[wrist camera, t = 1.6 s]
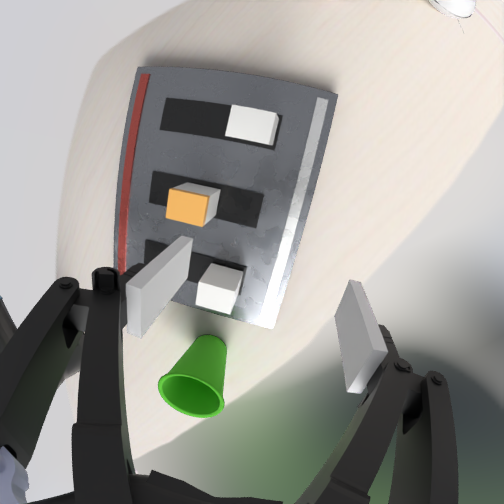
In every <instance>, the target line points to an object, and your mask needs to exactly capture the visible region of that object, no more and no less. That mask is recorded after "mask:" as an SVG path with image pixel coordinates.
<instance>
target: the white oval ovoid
mask: <svg viewBox="0 0 504 504" xmlns="http://www.w3.org/2000/svg"><path fill="white" fill-rule="evenodd" d="M429 2H430V3H431V4H432V5H433V6H434V7H435V8H436V9H437V10H438V11H439V12H441V13H442V14H444V15H446V16H448V17H452V18H456V19H463V18H468V17H470V16H471V15H472V13H473V12H474V10H475V6H476V0H429ZM458 22H459V21H458ZM459 24H460V23H459ZM460 26H461V25H460ZM461 28H462V27H461ZM462 31H463V30H462ZM463 33H464V32H463Z"/></svg>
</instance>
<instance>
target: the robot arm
mask: <svg viewBox="0 0 504 504" xmlns="http://www.w3.org/2000/svg"><path fill="white" fill-rule="evenodd" d="M192 242H193V238H189V237H185V236H180V237H179V238H178V239H177V240H176V241H174V242H173V243H172V244H171V245H170V246H168V247H167V248H166V249H165V250H164V251H163V252H161V253H160V254H159V255H158V256H157V257H156V258H154V259H153V260H152V261H151V262H150V263H149V264H148V265H146V264H143V263H138V264H136V265H133V266H131V267H130V268H129V269H128V270H127V271H125V272H124V273H123V274H122V275H121V276H120V272H119V271H118V270H117V269H114V268H111V267H101V268H97V269H95V270H94V271H93V272H92V286H93V290H87V289H81V288H79V283H78V281H77V280H76V279H75V278H72V277H62V278H60V279H57V280H56V281H55V282H54V283H53V284H52V285H51V287H50V288H49V289H48V290H47V291H46V293H45V294H44V295H43V296H42V298H41V299H40V300H39V302H38V303H37V304H36V305H35V306H34V308H33V309H32V310H31V312H30V313H29V314H28V316H27V317H26V319H25V320H24V321H23V322H22V324H21V325H20V327H19V328H18V329H17V328H16V326H15V324H14V322H13V320H12V319H11V316H10V315H9V313H8V311H7V309H6V307H5V305H4V302H3V300H2V297H1V296H0V504H283V502H281V501H273V500H265V499H259V498H252V497H241V498H220V497H213V496H211V495H209V494H207V493H205V492H203V491H201V490H199V489H197V488H195V487H194V486H192V485H190V484H188V483H186V482H184V481H182V480H179V479H176V478H173V477H170V476H167V475H164V474H161V473H159V472H156V471H154V470H152V471H151V473H150V475H139V474H136V473H135V469H134V465H133V460H132V455H131V448H130V441H129V433H128V425H127V415H126V404H125V391H124V373H123V332H122V329H123V328H124V326H125V325H126V324H127V333H129V334H131V335H134V336H136V337H139V338H142V337H143V335H144V334H145V333H146V331H147V330H148V329H149V327H150V326H151V325H152V323H153V322H154V321H155V319H156V318H157V317H158V315H159V314H160V313H161V311H162V310H163V309H164V307H165V306H166V305H167V304H168V302H169V301H170V300H171V298H172V297H173V296H174V294H175V293H176V292H177V291H178V289H179V288H180V287H181V285H182V284H183V283H184V282H185V280H186V279H187V278H188V271H189V263H190V256H191V249H192ZM335 321H336V326H337V332H338V338H339V343H340V349H341V356H342V362H343V368H344V375H345V382H346V389H347V392H353V393H362V391H363V390H364V388H365V387H366V386H367V389H368V393H367V394H366V396H365V397H364V398H363V400H362V401H361V402H360V404H359V405H358V406H357V407H358V410H357V412H356V414H355V415H354V417H353V419H352V421H351V423H350V424H349V426H348V428H347V429H346V431H345V433H344V435H343V436H342V438H341V439H340V441H339V443H338V444H337V446H336V447H335V449H334V450H333V452H332V453H331V455H330V457H329V458H328V459H327V461H326V462H325V464H324V465H323V467H322V468H321V470H320V471H319V473H318V474H317V475H316V477H315V478H314V480H313V481H312V482H311V484H310V485H309V487H308V488H307V489H306V490H305V492H304V493H303V494H302V495H301V497H300V498H299V499H298V500H297V501H296V502H295V503H294V504H369V502H370V496H368V495H367V493H368V491H369V488H370V487H371V485H372V483H373V481H374V478H375V476H376V474H377V472H378V470H379V468H380V466H381V463H382V461H383V458H384V456H385V454H386V452H387V449H388V447H389V444H390V442H391V439H392V436H393V434H394V431H395V428H396V426H397V440H396V452H395V462H394V470H393V478H392V485H391V491H390V497H389V503H388V504H458V460H457V446H456V436H455V427H454V420H453V412H452V406H451V400H450V394H449V389H448V384H447V381H446V379H445V378H444V376H443V375H442V374H440V373H438V372H436V371H429V372H428V373H427V374H426V375H425V377H422V376H420V375H417V374H414V373H413V369H412V367H411V365H410V364H409V363H408V362H407V361H405V360H404V359H401V358H399V355H398V352H397V350H396V347H395V345H394V342H393V340H392V337H391V335H390V332H389V331H388V330H387V329H386V327H385V326H384V325H378V323H377V321H376V318H375V316H374V313H373V311H372V308H371V306H370V304H369V301H368V298H367V296H366V294H365V291H364V289H363V286H362V284H361V282H358V281H354V280H349V282H348V285H347V287H346V290H345V292H344V295H343V297H342V300H341V302H340V304H339V307H338V309H337V311H336V314H335ZM83 332H85V335H84V334H83ZM79 371H80V377H79V389H78V408H77V422H76V423H75V424H73V426H72V467H73V482H74V491H73V492H70V493H67V494H63V495H60V496H56V497H52V498H48V499H44V500H39V501H35V502H30V503H27V501H26V498H25V491H27V490H28V488H29V483H28V475H27V472H26V470H25V469H26V467H27V465H28V463H29V462H30V460H31V458H32V455H33V452H34V450H35V447H36V444H37V441H38V438H39V435H40V432H41V429H42V426H43V423H44V421H45V418H46V415H47V412H48V410H49V407H50V405H51V402H52V400H53V397H54V395H55V392H56V390H57V389H58V387H59V386H60V385H61V384H62V383H63V381H64V380H65V379H67V378H69V377H70V376H72V375H74V374H76V373H77V372H79ZM397 423H398V425H397Z"/></svg>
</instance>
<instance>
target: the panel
mask: <svg viewBox="0 0 504 504" xmlns="http://www.w3.org/2000/svg"><path fill="white" fill-rule="evenodd" d="M337 98H338V94H335V93H331V92H328V91H324V90H320V89H317V88H313V87H309V86H305V85H301V84H296V83H292V82H288V81H283V80H278V79H273V78H268V77H262V76H256V75H250V74H243V73H236V72H229V71H220V70H210V69H199V68H183V67H138V68H137V72H136V76H135V80H134V85H133V89H132V93H131V98H130V103H129V108H128V113H127V118H126V124H125V129H124V136H123V142H122V149H121V156H120V164H119V173H118V182H117V194H116V207H115V225H114V269H117V270H118V271H119V272H120V276H121V275H122V274H123V273H124V272H125V271H127V270H128V269H129V268H130V267H131V266H133V265H136V264H138V263H143V264H146V265H148V264H149V263H150V262H151V261H152V260H153V259H154V258H156V257H157V256H158V255H159V254H160V253H161V252H163V251H164V250H165V249H166V248H167V247H168V246H170V245H171V244H172V243H173V242H174V241H176V240H177V239H178V238H179V237H180V236H185V237H189V238H193V242H192V249H191V256H190V263H189V271H188V278H187V279H186V280H185V282H184V283H183V284H182V285H181V287H180V288H179V289H178V291H177V292H176V293H175V294H174V296H173V297H172V298H171V301H175V302H178V303H181V304H184V305H187V306H191V307H194V308H197V309H201V310H204V311H207V312H211V313H214V314H218V315H221V316H225V317H228V318H232V319H236V320H239V321H243V322H247V323H251V324H255V325H258V326H262V327H266V328H270V329H273V327H274V324H275V321H276V318H277V315H278V312H279V308H280V305H281V302H282V299H283V296H284V293H285V290H286V286H287V283H288V280H289V277H290V274H291V270H292V267H293V264H294V260H295V257H296V254H297V250H298V247H299V244H300V240H301V237H302V233H303V230H304V226H305V223H306V219H307V216H308V212H309V209H310V205H311V202H312V198H313V194H314V191H315V187H316V183H317V179H318V175H319V172H320V168H321V164H322V160H323V156H324V152H325V148H326V144H327V140H328V136H329V132H330V128H331V124H332V119H333V115H334V111H335V106H336V102H337ZM232 105H238V106H243V107H249V108H254V109H259V110H264V111H269V112H274V113H276V114H277V116H278V118H279V121H278V125H277V129H276V134H275V138H274V142H273V145H268V144H263V143H259V142H254V141H249V140H244V139H239V138H234V137H229V136H225V134H226V129H227V125H228V120H229V116H230V112H231V107H232ZM187 182H188V183H193V184H198V185H202V186H207V187H212V188H216V189H221V190H220V195H219V201H218V206H217V211H216V215H215V216H214V217H213V218H212V219H211V220H210V221H209V222H207V223H206V224H205V225H204V226H203V227H200V226H196V225H192V224H188V223H184V222H180V221H176V220H172V219H168V218H166V210H167V202H168V195H169V189H171V188H173V187H176V186H179V185H181V184H184V183H187ZM211 263H213V264H216V265H220V266H224V267H228V268H231V269H235V270H239V271H243V276H242V280H241V284H240V289H239V293H238V295H237V298H236V301H235V303H234V306H233V308H232V311H231V314H226V313H222V312H219V311H215V310H212V309H208V308H205V307H202V306H198V305H195V304H196V297H197V290H198V283H199V280H200V279H201V278H202V276H203V275H204V273H205V272H206V270H207V269H208V267H209V266H210V264H211Z"/></svg>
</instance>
